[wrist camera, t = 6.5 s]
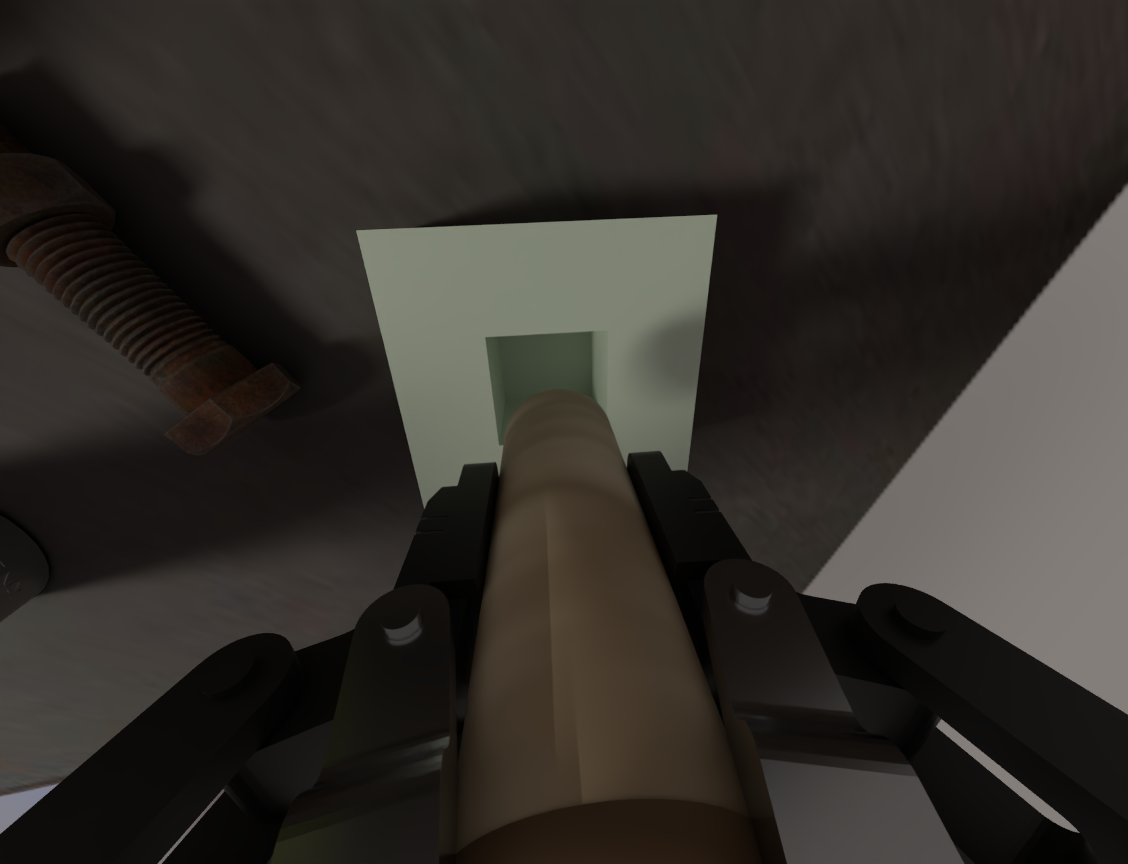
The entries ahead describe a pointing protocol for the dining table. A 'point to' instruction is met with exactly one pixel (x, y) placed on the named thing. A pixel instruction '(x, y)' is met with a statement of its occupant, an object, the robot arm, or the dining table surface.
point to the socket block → (541, 330)
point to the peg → (587, 672)
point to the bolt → (127, 300)
